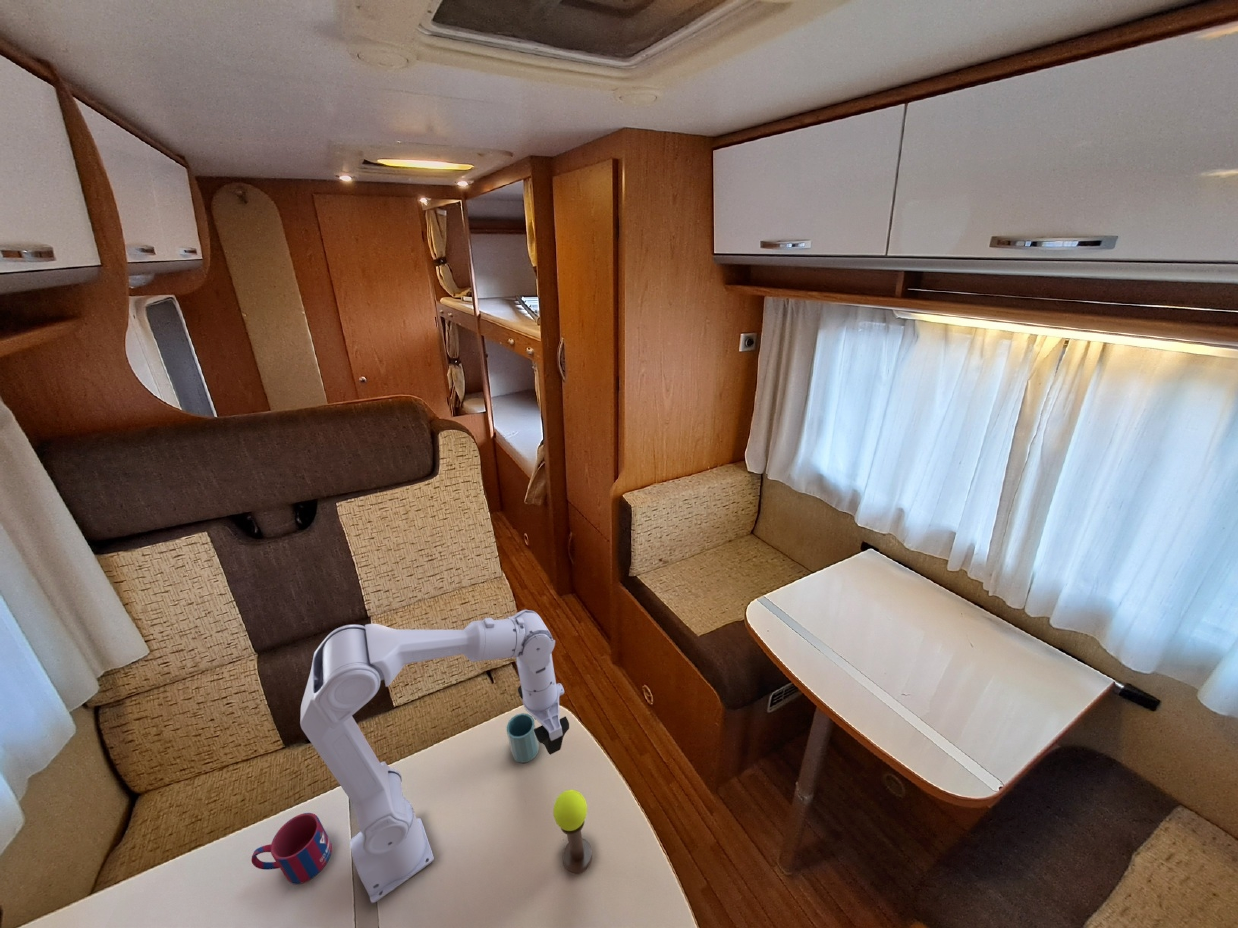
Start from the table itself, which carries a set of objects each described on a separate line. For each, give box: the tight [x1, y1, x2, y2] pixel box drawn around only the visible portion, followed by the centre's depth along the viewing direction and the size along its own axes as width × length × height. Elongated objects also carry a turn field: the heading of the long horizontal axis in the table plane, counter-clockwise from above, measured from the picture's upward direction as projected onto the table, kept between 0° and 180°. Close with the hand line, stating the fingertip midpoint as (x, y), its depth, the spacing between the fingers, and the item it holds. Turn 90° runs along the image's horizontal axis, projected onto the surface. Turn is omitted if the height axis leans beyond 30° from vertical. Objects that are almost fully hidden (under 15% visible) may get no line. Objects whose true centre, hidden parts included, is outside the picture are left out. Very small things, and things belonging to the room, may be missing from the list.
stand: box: [560, 819, 593, 874], centre depth 75 cm, size 5×5×10 cm
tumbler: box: [506, 712, 540, 764], centre depth 93 cm, size 5×5×7 cm
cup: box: [250, 812, 333, 885], centre depth 78 cm, size 7×10×7 cm
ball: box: [553, 789, 588, 831], centre depth 72 cm, size 5×5×5 cm
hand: (547, 732), depth 86 cm, fingers open, 7 cm apart
